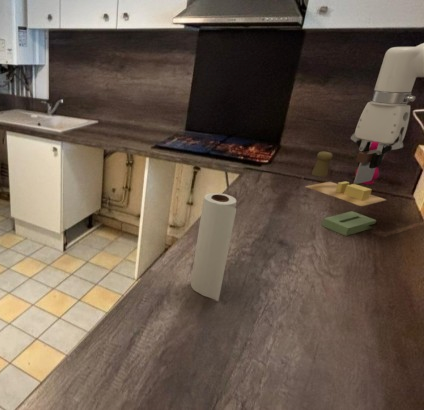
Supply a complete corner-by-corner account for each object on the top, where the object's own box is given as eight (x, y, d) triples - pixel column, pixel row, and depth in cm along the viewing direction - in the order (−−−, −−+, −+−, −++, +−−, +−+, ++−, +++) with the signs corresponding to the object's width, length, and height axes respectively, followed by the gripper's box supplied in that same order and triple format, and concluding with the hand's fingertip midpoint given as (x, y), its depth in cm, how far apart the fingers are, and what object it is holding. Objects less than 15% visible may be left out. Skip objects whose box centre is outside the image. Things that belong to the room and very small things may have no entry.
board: (385, 203, 122) (387, 199, 122) (360, 210, 117) (361, 206, 116) (328, 185, 139) (329, 181, 138) (304, 190, 134) (305, 186, 133)
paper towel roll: (191, 277, 82) (205, 190, 73) (219, 283, 80) (236, 194, 71) (188, 295, 76) (202, 202, 67) (218, 302, 74) (236, 207, 65)
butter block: (368, 198, 122) (372, 189, 121) (361, 200, 121) (364, 191, 119) (350, 192, 127) (353, 183, 126) (343, 194, 126) (346, 185, 124)
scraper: (376, 181, 103) (386, 150, 100) (356, 185, 100) (366, 154, 96) (367, 179, 105) (377, 149, 101) (348, 183, 102) (358, 152, 98)
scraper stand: (373, 227, 105) (376, 220, 104) (345, 236, 101) (348, 228, 100) (349, 218, 111) (351, 211, 110) (321, 225, 106) (324, 218, 106)
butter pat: (346, 191, 128) (349, 182, 127) (339, 193, 127) (342, 183, 126) (342, 190, 130) (345, 181, 128) (335, 191, 128) (338, 182, 127)
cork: (323, 181, 142) (331, 154, 138) (307, 177, 147) (314, 151, 142) (329, 178, 146) (337, 152, 142) (313, 174, 150) (320, 149, 146)
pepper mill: (355, 186, 137) (372, 135, 130) (349, 180, 144) (365, 131, 136) (377, 188, 135) (396, 136, 127) (370, 182, 142) (387, 132, 134)
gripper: (435, 101, 88) (408, 172, 95) (365, 94, 101) (346, 157, 109) (418, 103, 85) (392, 176, 92) (348, 96, 98) (330, 160, 106)
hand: (367, 165), depth 100 cm, fingers closed on scraper, 2 cm apart
